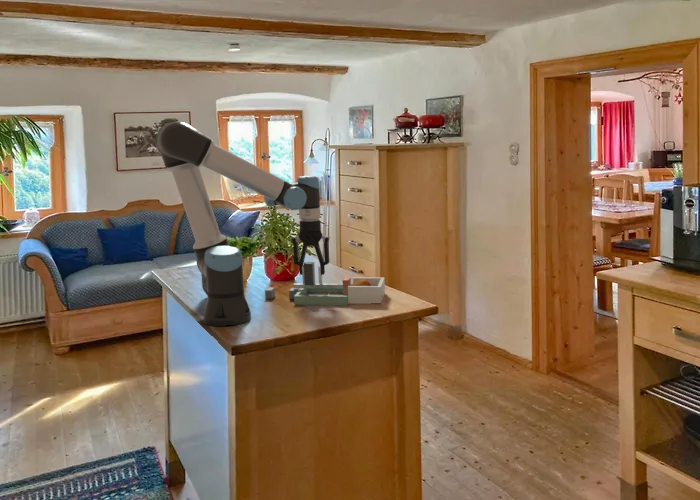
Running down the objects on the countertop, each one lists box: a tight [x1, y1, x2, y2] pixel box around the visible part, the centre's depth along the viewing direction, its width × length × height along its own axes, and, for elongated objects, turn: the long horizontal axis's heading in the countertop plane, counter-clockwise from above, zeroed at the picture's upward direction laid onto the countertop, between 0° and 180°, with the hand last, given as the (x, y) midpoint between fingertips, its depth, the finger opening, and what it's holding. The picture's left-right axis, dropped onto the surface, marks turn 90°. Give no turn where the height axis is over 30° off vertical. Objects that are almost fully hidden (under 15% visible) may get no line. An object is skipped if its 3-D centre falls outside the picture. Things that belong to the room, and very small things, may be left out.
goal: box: [348, 276, 386, 305], centre depth 228 cm, size 12×14×6 cm
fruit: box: [351, 279, 371, 286], centre depth 228 cm, size 8×8×8 cm
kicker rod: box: [292, 261, 352, 296], centre depth 230 cm, size 20×6×12 cm, turn 82°
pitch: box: [264, 283, 353, 306], centre depth 231 cm, size 31×18×3 cm, turn 82°
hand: (312, 283), depth 231 cm, fingers open, 5 cm apart
